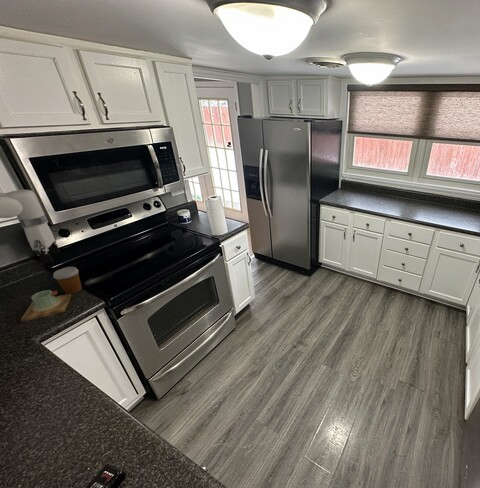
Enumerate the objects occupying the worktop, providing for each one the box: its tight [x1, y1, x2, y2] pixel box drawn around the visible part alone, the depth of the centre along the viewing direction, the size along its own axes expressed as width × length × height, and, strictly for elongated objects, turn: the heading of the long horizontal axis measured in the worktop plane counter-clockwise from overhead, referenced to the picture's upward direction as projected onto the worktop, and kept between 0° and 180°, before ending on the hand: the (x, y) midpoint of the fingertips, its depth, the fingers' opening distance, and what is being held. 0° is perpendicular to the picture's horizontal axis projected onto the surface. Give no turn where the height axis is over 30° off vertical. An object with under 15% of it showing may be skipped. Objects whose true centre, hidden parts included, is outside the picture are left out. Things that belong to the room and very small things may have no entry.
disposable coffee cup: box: [52, 266, 83, 295], centre depth 135 cm, size 10×10×12 cm
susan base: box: [20, 293, 72, 323], centre depth 124 cm, size 14×14×2 cm
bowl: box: [30, 289, 61, 312], centre depth 123 cm, size 10×10×6 cm
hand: (51, 257), depth 114 cm, fingers open, 9 cm apart
